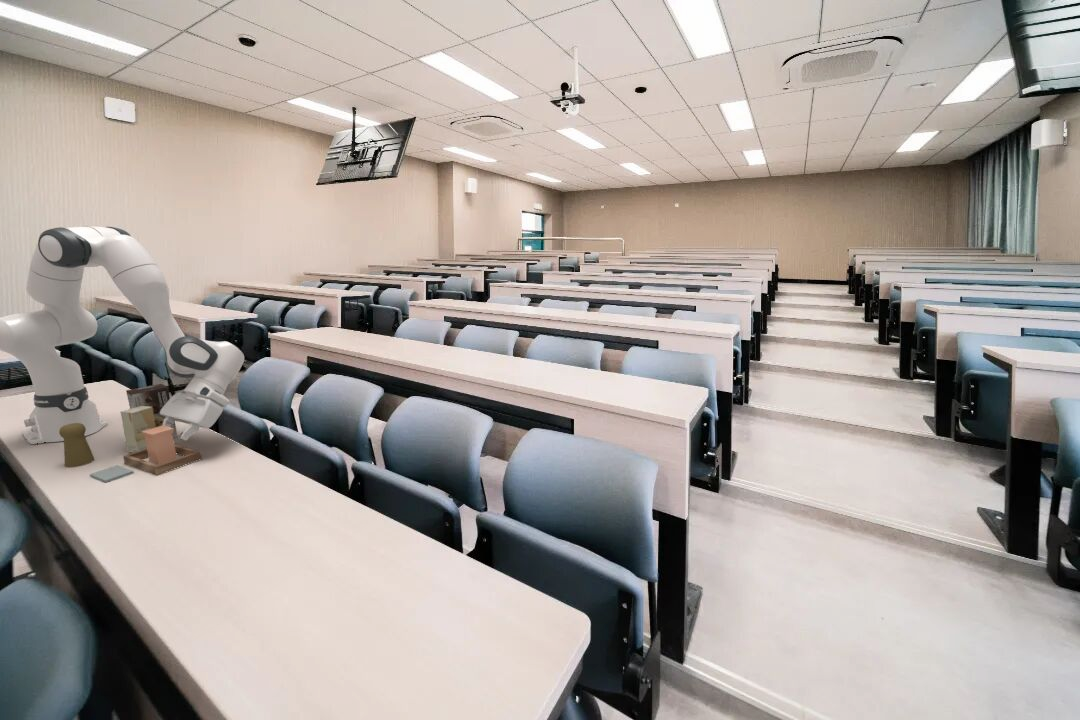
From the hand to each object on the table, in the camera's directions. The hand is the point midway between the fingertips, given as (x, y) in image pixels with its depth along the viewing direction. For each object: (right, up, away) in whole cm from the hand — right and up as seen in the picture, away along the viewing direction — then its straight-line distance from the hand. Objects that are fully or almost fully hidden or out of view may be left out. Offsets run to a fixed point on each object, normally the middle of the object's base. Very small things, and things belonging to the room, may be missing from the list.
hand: (172, 436), depth 138 cm
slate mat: (-9, -8, -9) cm, 15 cm away
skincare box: (-14, -5, +7) cm, 16 cm away
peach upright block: (-1, -7, -1) cm, 7 cm away
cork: (-24, -7, -2) cm, 25 cm away
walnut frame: (-1, -7, -1) cm, 7 cm away
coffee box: (-16, -3, +15) cm, 22 cm away
